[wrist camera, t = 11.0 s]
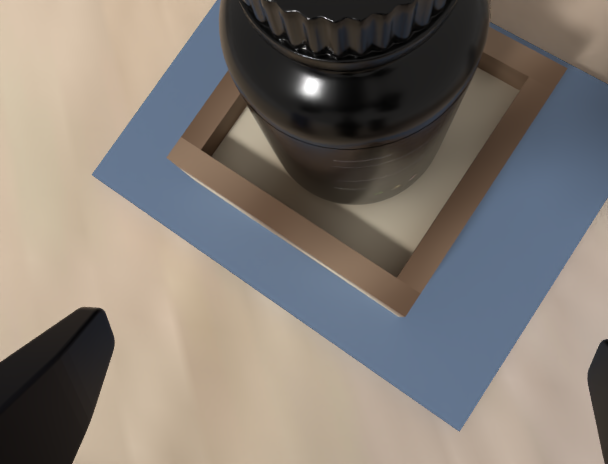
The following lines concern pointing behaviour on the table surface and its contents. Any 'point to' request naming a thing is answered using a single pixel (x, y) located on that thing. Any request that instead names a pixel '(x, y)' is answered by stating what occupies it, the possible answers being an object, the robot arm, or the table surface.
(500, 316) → the board
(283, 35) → the supplement bottle
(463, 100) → the foundation socket
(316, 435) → the table surface
